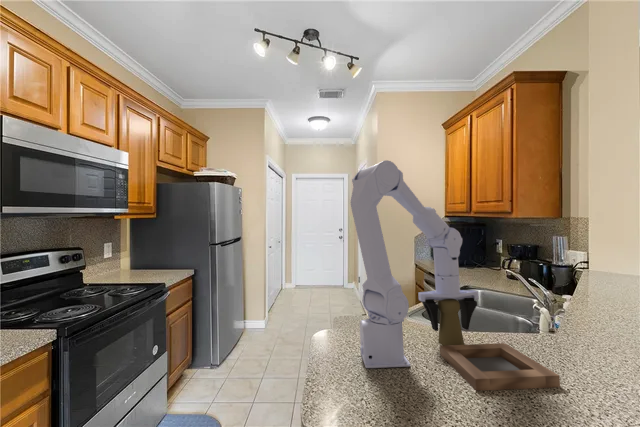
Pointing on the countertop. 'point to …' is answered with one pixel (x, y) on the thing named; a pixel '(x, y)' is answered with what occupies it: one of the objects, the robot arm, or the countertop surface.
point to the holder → (497, 367)
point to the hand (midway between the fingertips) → (450, 329)
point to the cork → (449, 323)
